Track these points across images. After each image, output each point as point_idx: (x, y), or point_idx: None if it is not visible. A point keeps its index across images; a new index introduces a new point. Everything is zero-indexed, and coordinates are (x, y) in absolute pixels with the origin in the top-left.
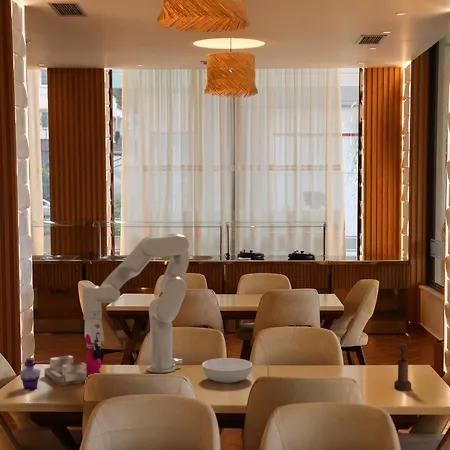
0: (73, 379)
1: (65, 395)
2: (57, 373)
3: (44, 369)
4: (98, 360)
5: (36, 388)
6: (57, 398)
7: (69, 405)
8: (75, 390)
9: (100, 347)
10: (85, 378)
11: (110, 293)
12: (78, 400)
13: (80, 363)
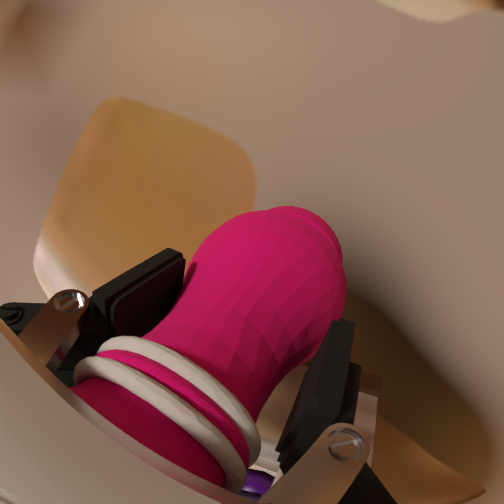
0: None
1: (413, 487)
2: None
3: None
4: (325, 308)
5: (274, 478)
6: (408, 500)
7: (467, 501)
8: (413, 459)
9: (364, 462)
10: (374, 401)
11: None
12: (474, 484)
13: None
